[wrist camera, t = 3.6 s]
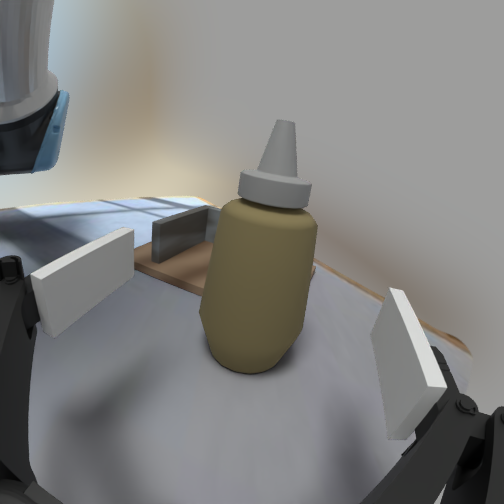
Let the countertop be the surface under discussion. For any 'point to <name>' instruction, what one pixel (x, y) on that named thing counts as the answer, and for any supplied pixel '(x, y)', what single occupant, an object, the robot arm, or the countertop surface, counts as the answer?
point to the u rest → (181, 248)
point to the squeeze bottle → (261, 262)
